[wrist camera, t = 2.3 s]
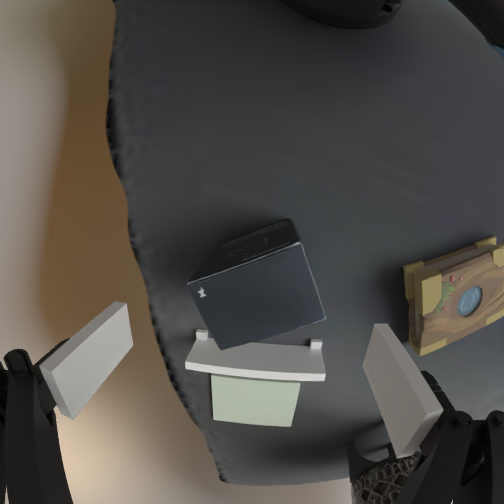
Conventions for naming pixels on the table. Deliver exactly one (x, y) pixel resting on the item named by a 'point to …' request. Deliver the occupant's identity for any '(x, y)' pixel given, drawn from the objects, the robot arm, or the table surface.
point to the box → (257, 287)
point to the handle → (258, 359)
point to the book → (454, 294)
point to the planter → (378, 476)
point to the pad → (254, 400)
